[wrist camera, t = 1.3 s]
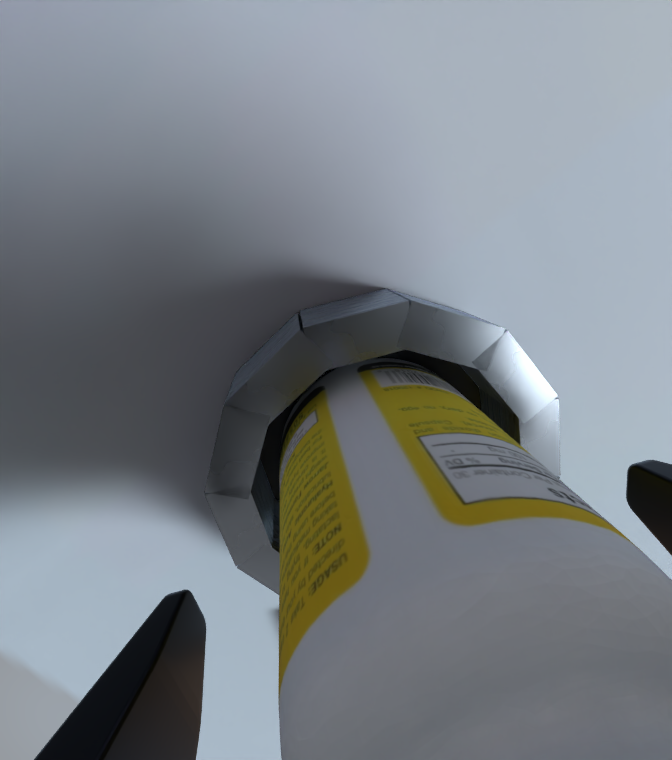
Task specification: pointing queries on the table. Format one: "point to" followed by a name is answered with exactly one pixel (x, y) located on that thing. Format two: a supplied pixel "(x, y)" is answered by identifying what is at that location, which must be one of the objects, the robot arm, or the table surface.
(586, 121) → the table surface
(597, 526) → the supplement bottle
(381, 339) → the collar
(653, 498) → the robot arm
